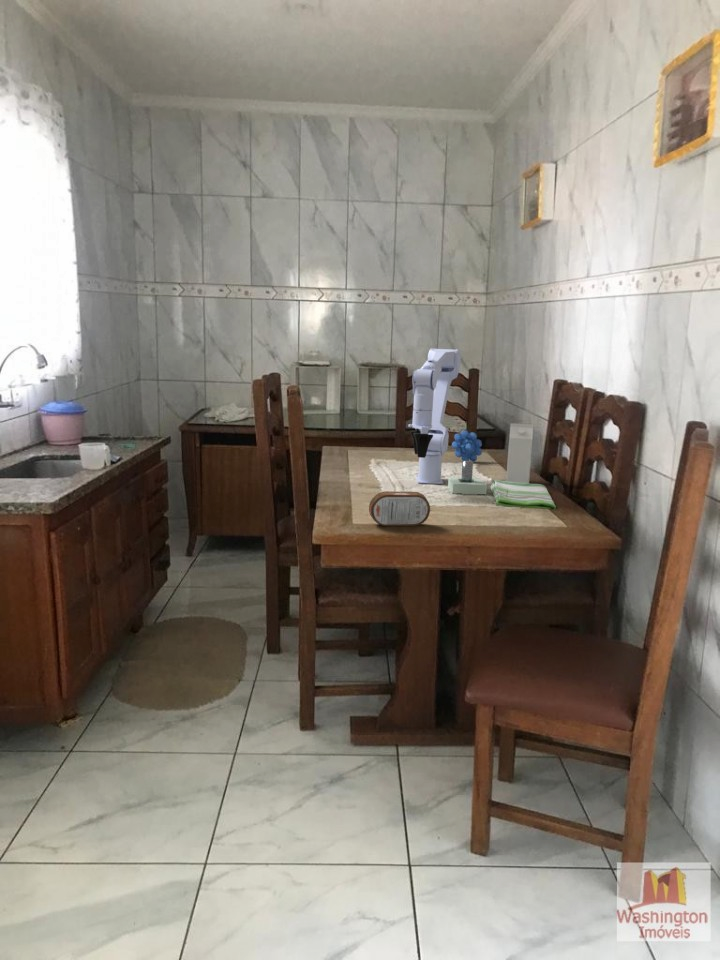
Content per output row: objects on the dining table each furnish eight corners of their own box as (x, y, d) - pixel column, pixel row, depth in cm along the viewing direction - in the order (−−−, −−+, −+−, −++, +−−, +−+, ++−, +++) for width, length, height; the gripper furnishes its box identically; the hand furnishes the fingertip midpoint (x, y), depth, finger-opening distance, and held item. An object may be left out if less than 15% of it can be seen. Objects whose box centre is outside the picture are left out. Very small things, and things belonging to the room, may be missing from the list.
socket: (447, 486, 225) (448, 477, 225) (480, 487, 226) (480, 478, 225) (452, 493, 216) (453, 483, 215) (486, 494, 216) (486, 484, 215)
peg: (458, 489, 222) (460, 460, 220) (468, 489, 223) (469, 460, 221) (463, 492, 219) (465, 462, 217) (473, 491, 220) (475, 462, 218)
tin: (427, 523, 182) (429, 490, 180) (430, 526, 179) (432, 493, 177) (368, 524, 179) (369, 490, 178) (370, 527, 176) (371, 493, 175)
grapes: (454, 464, 264) (456, 431, 261) (449, 461, 270) (450, 429, 268) (484, 464, 265) (487, 431, 263) (479, 461, 272) (481, 429, 270)
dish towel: (546, 493, 223) (547, 482, 223) (557, 511, 201) (558, 499, 200) (490, 490, 225) (490, 478, 225) (494, 507, 203) (495, 495, 202)
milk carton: (506, 479, 240) (510, 422, 236) (528, 480, 239) (533, 423, 235) (506, 483, 233) (510, 424, 229) (528, 485, 232) (533, 426, 228)
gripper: (406, 408, 222) (404, 452, 224) (412, 411, 208) (409, 458, 210) (429, 409, 222) (426, 453, 224) (436, 412, 208) (433, 459, 210)
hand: (419, 455), depth 217 cm, fingers open, 7 cm apart
